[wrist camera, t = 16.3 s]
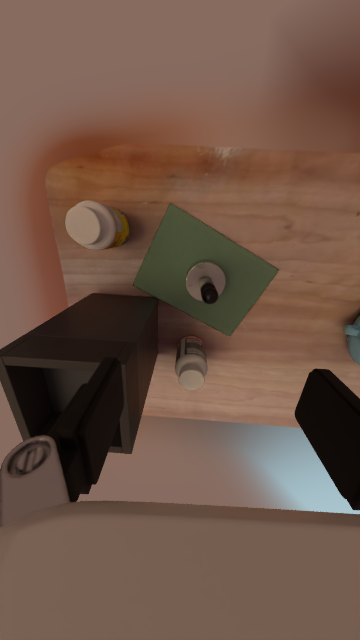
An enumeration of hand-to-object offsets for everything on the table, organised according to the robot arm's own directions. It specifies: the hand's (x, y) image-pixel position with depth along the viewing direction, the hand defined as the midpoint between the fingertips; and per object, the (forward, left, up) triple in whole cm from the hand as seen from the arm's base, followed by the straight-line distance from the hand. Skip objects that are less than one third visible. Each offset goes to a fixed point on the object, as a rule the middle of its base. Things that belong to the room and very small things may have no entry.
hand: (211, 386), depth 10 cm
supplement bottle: (-15, +1, -26) cm, 31 cm away
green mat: (+1, +1, -26) cm, 26 cm away
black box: (-7, -14, -26) cm, 31 cm away
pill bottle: (+6, -12, -26) cm, 30 cm away
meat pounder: (+1, +1, -26) cm, 26 cm away
